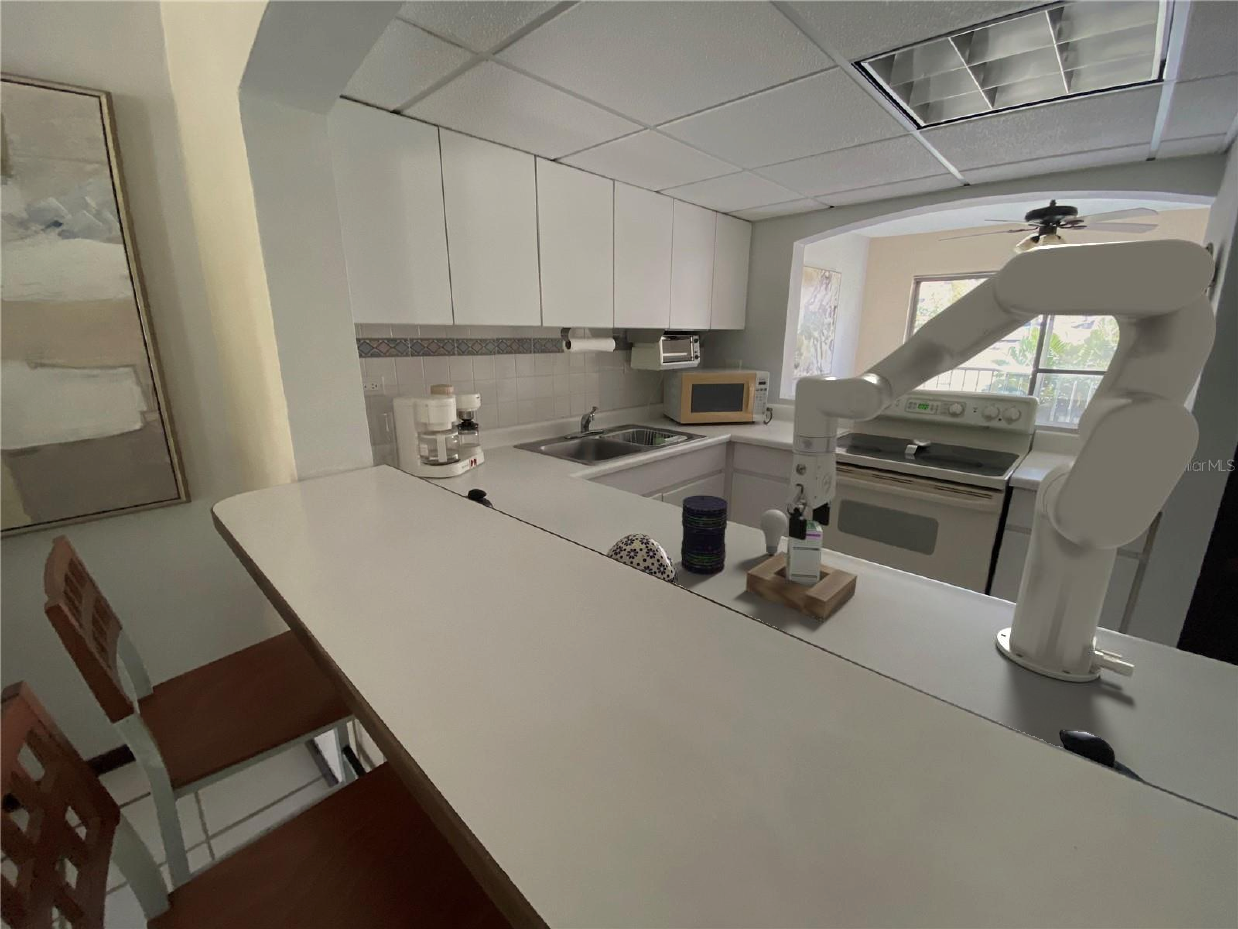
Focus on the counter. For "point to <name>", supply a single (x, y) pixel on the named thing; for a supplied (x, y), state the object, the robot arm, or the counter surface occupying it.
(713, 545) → the storage jar
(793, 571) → the syrup box
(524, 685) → the counter surface
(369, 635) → the counter surface
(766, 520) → the lightbulb
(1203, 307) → the robot arm
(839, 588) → the holder block
